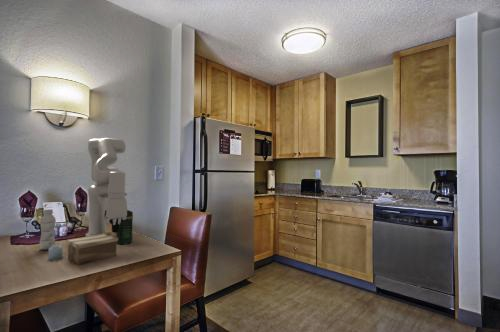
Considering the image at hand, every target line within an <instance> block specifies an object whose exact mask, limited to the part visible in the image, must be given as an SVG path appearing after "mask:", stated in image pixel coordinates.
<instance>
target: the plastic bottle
mask: <svg viewBox="0 0 500 332" xmlns="http://www.w3.org/2000/svg"><path fill="white" fill-rule="evenodd" d="M56 219H57V218H56V217H55V216H54V210H53V209H43V215H42V217H41V218H40V219H39V222H40V223H39V224H40V241H39V244H38V245H39V249H40V250H45V251H46V250H48V251H49V248H50V247H54V246H56V239H55V228H56Z"/></svg>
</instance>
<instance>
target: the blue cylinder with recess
mask: <svg viewBox="0 0 500 332" xmlns="http://www.w3.org/2000/svg"><path fill="white" fill-rule="evenodd" d="M63 249H64V247H63V245H55V246H54V247H50V248H49V249H48V260H49V261H54V260H55V259H56V260H59V259H62V258H63V254H64V253H63V251H64V250H63Z"/></svg>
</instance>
